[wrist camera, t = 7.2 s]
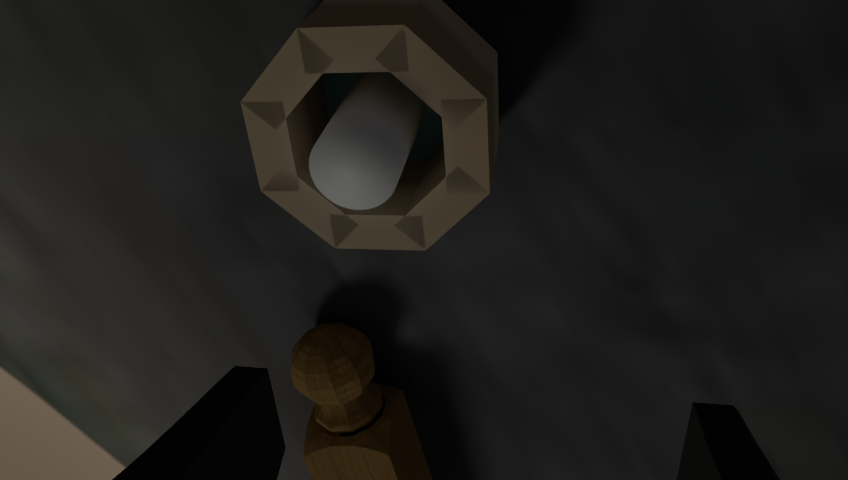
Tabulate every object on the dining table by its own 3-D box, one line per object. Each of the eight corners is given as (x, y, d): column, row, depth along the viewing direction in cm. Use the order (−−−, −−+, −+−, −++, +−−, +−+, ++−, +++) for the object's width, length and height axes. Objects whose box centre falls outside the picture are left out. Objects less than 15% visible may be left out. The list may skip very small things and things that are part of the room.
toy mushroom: (484, -9, 18) (462, 58, 14) (488, 171, 21) (471, 268, 17) (292, -3, 19) (220, 60, 15) (320, 168, 22) (265, 260, 18)
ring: (495, -16, 17) (484, 21, 15) (500, 191, 20) (492, 252, 18) (270, -8, 18) (224, 30, 16) (307, 189, 21) (273, 246, 19)
